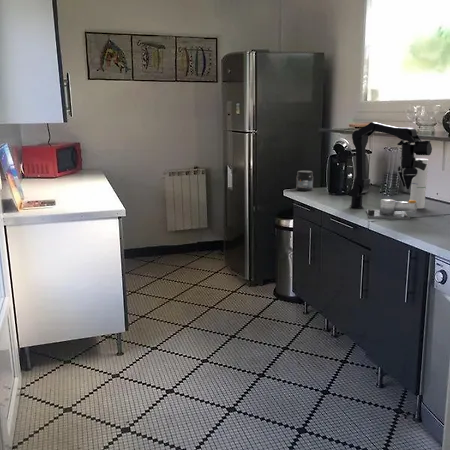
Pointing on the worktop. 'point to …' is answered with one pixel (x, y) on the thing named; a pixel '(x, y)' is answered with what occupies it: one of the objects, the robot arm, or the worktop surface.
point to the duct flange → (386, 215)
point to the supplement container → (304, 181)
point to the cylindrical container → (419, 185)
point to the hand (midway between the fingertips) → (406, 187)
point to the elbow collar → (397, 206)
